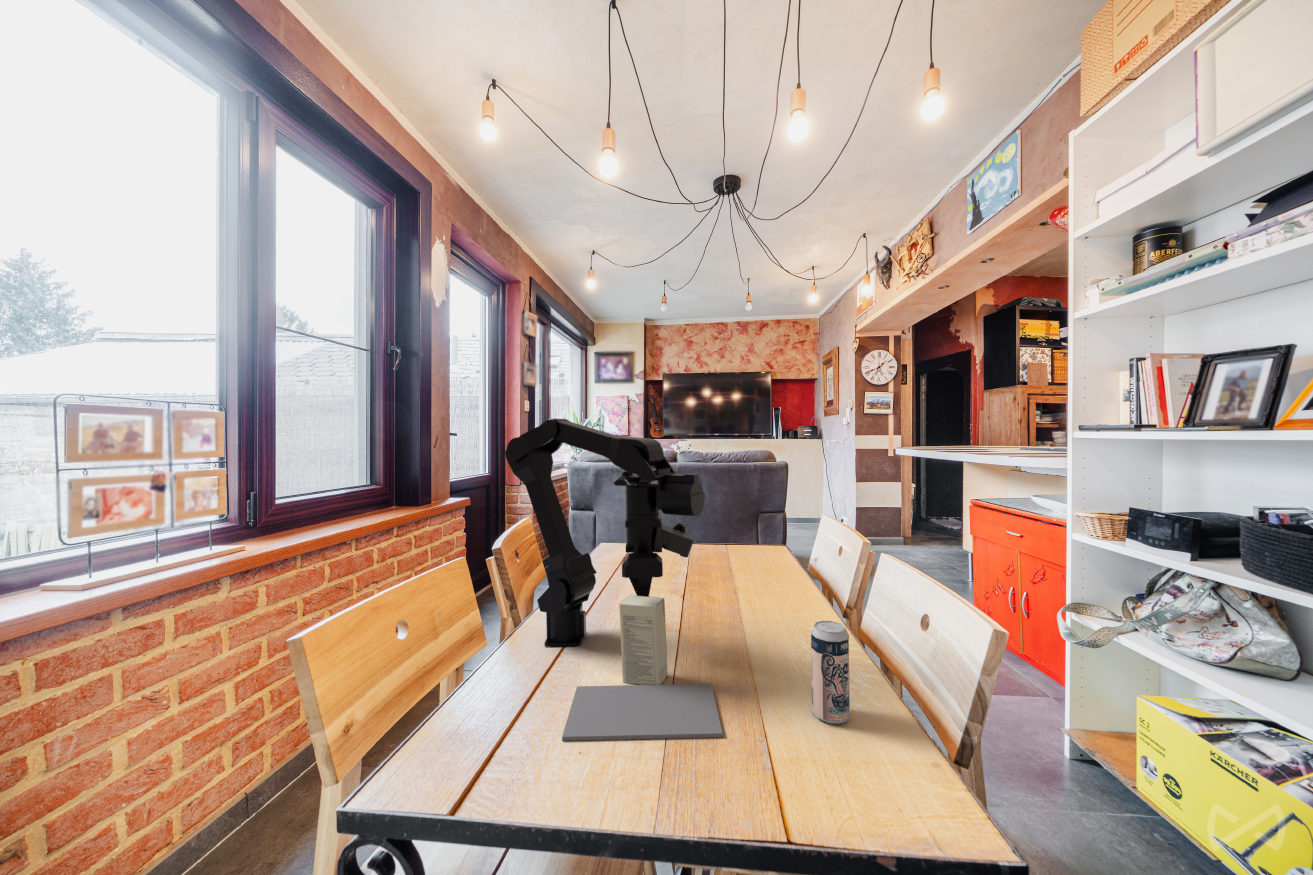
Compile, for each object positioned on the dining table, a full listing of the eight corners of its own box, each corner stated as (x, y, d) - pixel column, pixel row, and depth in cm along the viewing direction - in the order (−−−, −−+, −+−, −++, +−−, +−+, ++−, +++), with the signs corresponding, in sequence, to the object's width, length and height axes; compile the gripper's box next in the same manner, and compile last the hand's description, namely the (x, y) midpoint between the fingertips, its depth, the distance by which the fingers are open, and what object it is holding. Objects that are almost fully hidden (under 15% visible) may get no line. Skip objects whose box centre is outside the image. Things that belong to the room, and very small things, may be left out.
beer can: (832, 730, 61) (830, 636, 61) (804, 711, 65) (803, 623, 65) (858, 720, 63) (857, 628, 63) (829, 702, 68) (828, 616, 67)
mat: (562, 740, 60) (562, 736, 60) (577, 689, 72) (577, 686, 72) (722, 737, 60) (722, 733, 60) (711, 686, 72) (711, 683, 72)
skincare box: (668, 674, 76) (667, 597, 76) (659, 688, 72) (658, 606, 72) (630, 668, 78) (629, 593, 78) (619, 681, 74) (618, 602, 74)
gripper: (695, 521, 73) (696, 625, 73) (686, 503, 91) (687, 586, 91) (621, 523, 73) (622, 626, 73) (627, 504, 91) (628, 587, 91)
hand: (644, 604), depth 82 cm, fingers closed
